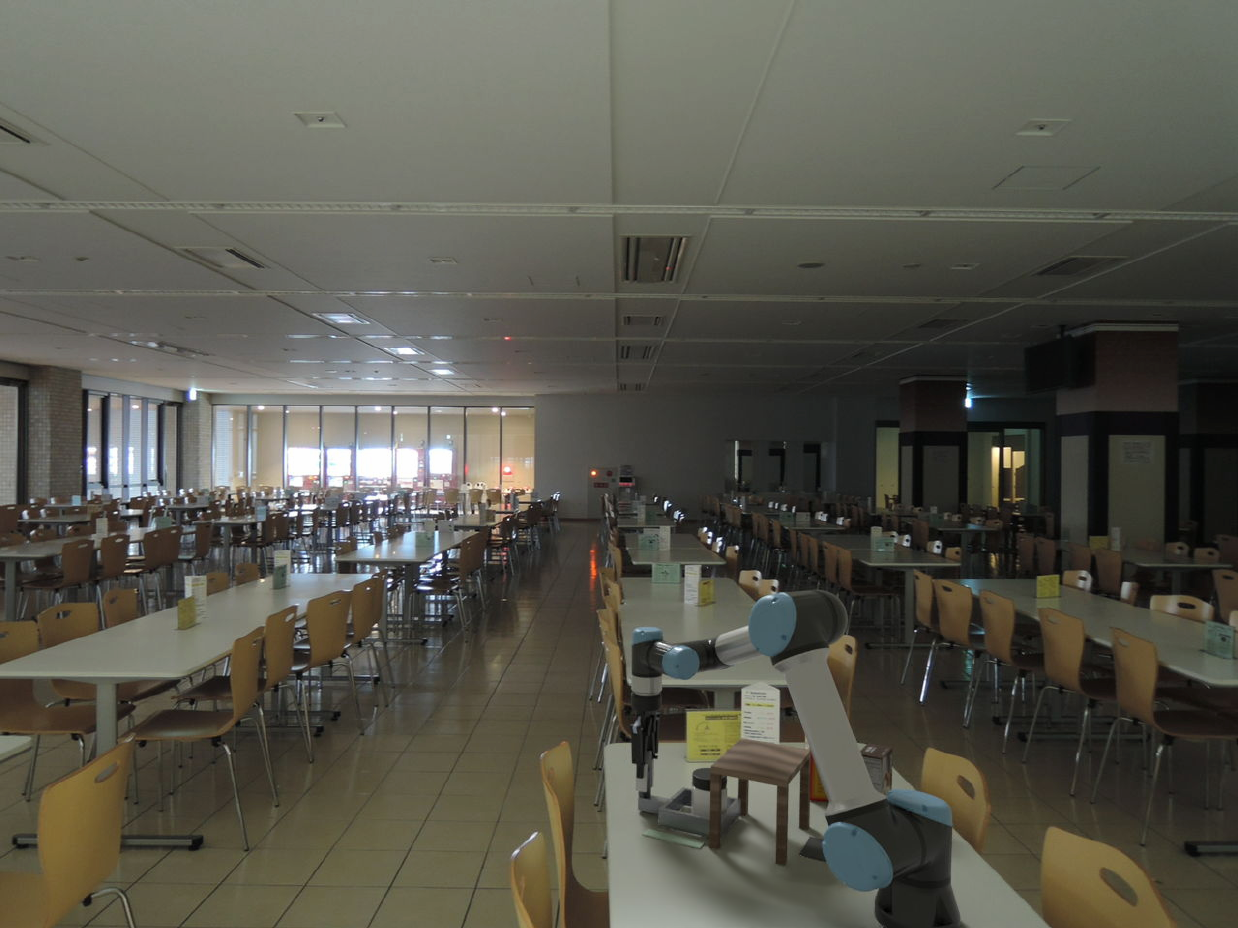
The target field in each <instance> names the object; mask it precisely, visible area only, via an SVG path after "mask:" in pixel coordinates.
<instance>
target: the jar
mask: <svg viewBox="0 0 1238 928" xmlns="http://www.w3.org/2000/svg"><path fill="white" fill-rule="evenodd" d="M710 772H711V767H701V768H696V769H695V770H693V771H692V775H691V777H692V778H691V789H692V798H691V807H690V810H691V811H690V814H694V815H698V816H703V817H708V818H710ZM727 786H728V776H724V775H722V800H721V815H722V814H723V813H724V812H725V811H726V810H727V796H728V787H727Z"/></svg>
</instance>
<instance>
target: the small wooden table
mask: <svg viewBox="0 0 1238 928" xmlns="http://www.w3.org/2000/svg"><path fill="white" fill-rule="evenodd" d="M710 768H711V772H710V820H709V838H708V848H709V849H711V850H719V849H720V848H721V847H722V846H721V844H722V843H721V841H722V838H721V800H722V775H724V776H727V777H730V778H735V779H737V782H738V783H737V798H738V799H741V816H740V817H746V816H747V815H749V790H750V789H749V788H750V787H749V785H750V783H749V781H751V782H756V783H761V784H766V785H773V786H776V814H775V815H776V818H775V819H776V823H775V824H776V825H775V826H776V827H775V862H774V863H775V864H776V865H781V866H786V865H787V863H788V844H789V843H788V841H789V839H788V837H789V833H788V832H789V797H790V796H789V794H790V793H789V791H790V789H789V788H790V784H791V782H792V781H793V780H794V779H795V777H796V776H797V774H798V773H799V802H798V803H799V805H798V806H799V808H798V809H799V812H798V813H799V815H798V829H802V830H807V831H808V830H809V828H810V823H811V822H810V820H811V817H810V816H811V815H810V814H811V813H810V812H811V801H810V774H811V750H808V749H805V748H801V747H796V746H790V745H783V744H778V743H772V742H766V741H759V740H754V739H748V738H744V737H742V738H740V739H739V740H738V741H737V742H736V743H735V744H733V745H732V746H731V747H730V748H729V749H728V750H726V751H725V752H724V753H723V754H722V755H721V756H720V757H719V758H718V759H717V760H716V761H715V762H713V763H712V764H711V765H710Z"/></svg>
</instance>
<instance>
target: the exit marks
mask: <svg viewBox="0 0 1238 928" xmlns="http://www.w3.org/2000/svg"><path fill="white" fill-rule="evenodd" d="M641 835H642V836H643V837H647V838H653V839H657V840H660V841H664V842H665V841H666V842H668V843H673V844H678V845H681V846H686V847H690V848H694V849H698V850H701V849H702V848H703V846H705V844H706V842H705V841H701V840H696V839H692V838H688V837H684V836H681V835H675V834H671V833H666V832H663V831H658V830H653V829H649V828H647V829H646V830H645V831H644V832H643V833H641Z"/></svg>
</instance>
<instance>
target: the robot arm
mask: <svg viewBox="0 0 1238 928" xmlns="http://www.w3.org/2000/svg"><path fill="white" fill-rule="evenodd" d="M747 623H748V625H746V626H743V627H740V628H737V629H733V630H731V631H728V632H725V633H722V634H720V635H716V636H713V637H710V638H704V639H699V640H691V641H682V642H671V641H670V642H669V641H666V640H664V635H663V634H664V632H663V630H662V629H660V628H658V627H654V626H641V627H637V628H635V629H633V630H632V638H631V644H630V646H631V675H630V677H629V678H630V681H631V682H630V683H631V684H630V687H631V688H630V690H631V691H632V692H631V693H630V707H631V708H632V709H633V710H635V711H636V714H635V718H634V720H635V722H634V723H631V724H630V725H629V731H630V737H631V739H630V740H631V741H630V742H631V743H630V745H631V764H633V765H635V791H637V792H639V791H642V792H647V771H648V764H646V755H647V749H650V750H651V751H652V759H651V788H653V787H654V774H655V773H654V772H655V771H654V770H655V767H654V764H655V760H658V757H659V755H658V753H659V742H660V724H661V717H662V713H661V712H657V711H659V710H661V708H662V701H663V700H662V697H663V696H662V695H663V693H661V692H662V690H663V675H665V676H668V677H670V678H671V679H674V680H682V681H687V680H690V679H692V678H693V677H694V676H696V675H697V674H699V673H704V672H708V671H709V672H710V671H716V670H724V669H726V670H727V669H729V668H733V667H734V666H735V665H736V664H740V663H741V664H742V663H744V662H747V661H752V660H754V659H758V658H760V657H764V656H766V657H768V658H769V659H770V662H771V666H772V669H773V670H775V671H777V672H778V673H781V674H782V675H783V676H784V680H785V682H786V685H787V688H788V690H789V693H790V697H791V699H792V701H793V704H794V705H793V706H794V707H795V710H796V713H797V716H798V718H799V721H800V724H801V727H802V730H803V733H804V737H805V736H806V739H807V742H808V744H809V747H810V750H811V753H812V756H813V759H814V761H815V764H816V767H817V770H818V773H819V776H820V778H821V781H822V784H823V787H824V790H825V793H826V795H827V798H828V801H829V802H828V804H827V807H826V810H825V812H824V817H825V820H826V823H827V826H828V827H827V828H826V830H825V831H824V833H823V838H822V839H823V840H824V841H823V842H822V847H823V853H824V856H825V859H826V861H827V862H826V863H827V865H828V867H829V869H830V870H831V872H832V873H833V875H834V876H835V877H836V879H838V880H839V881H840V882H841V883H844V885H846V886H847V887H848V888H850V889H852V890H854V891H857V892H860V893H861V892H866V893H867V892H872V891H875V890H877V893H876V896H875V899H874V916H875V918H876V919H878V920H877V921H878V922H879V923H880V924H881V925H882V926H883V927H885V928H961V921H962V920H961V913H960V909H959V906H958V903H957V899H956V897H955V894H954V889H953V887H952V850H953V849H952V847H953V845H952V844H953V827H954V824H953V816H952V815H953V813H952V812H953V811H952V808H951V806H950V805H949V804H948V802H946V801H945V800H943V799H941V798H940V797H937V796H935V795H932V794H929V793H926V792H922V791H919V790H914V789H908V788H894V789H893V788H892V790H890V791H888V793H887V796H885V795H883V794H881V793H880V792H878V791H876V790H875V789H874V787H873V784H872V781H871V779H870V776H869V773H868V771H867V768H866V765H865V763H864V760H863V757H862V755H861V752H860V751H861V750H860V747H859V744H858V741H857V740H856V736H855V735H854V732H853V729H852V726H851V724H850V720H849V718H848V716H847V712H846V710H845V707H844V705H843V702H842V699H841V697H840V695H839V694H840V693H839V691H838V689H837V686H836V684H835V681H834V678H833V675H832V673H831V671H830V670H831V669H830V667H829V665H828V662H827V660H828V657H829V656H830V653H831V648H830V646H831V645H833V644H835V643H837V642H838V641H840V640H841V639H842V638H843V636H844V635H845V634H846V631H847V628H848V623H849V617H848V612H847V609H846V607H845V605H844V603H843V602H842V600H841V599H840V598H839V597H837V595H836V594H833V593H831V592H829V591H827V590H822V589H811V590H810V589H809V590H801V591H786V592H783V591H782V592H781V591H780V592H779V591H778V592H776V593H773V594H767V595H765V596H763V597H761V598H759V600H757V601H756V602H755V603H754V605H753V606H752V608H751V613H750V615H749V617H748V622H747ZM654 759H655V760H654Z"/></svg>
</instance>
